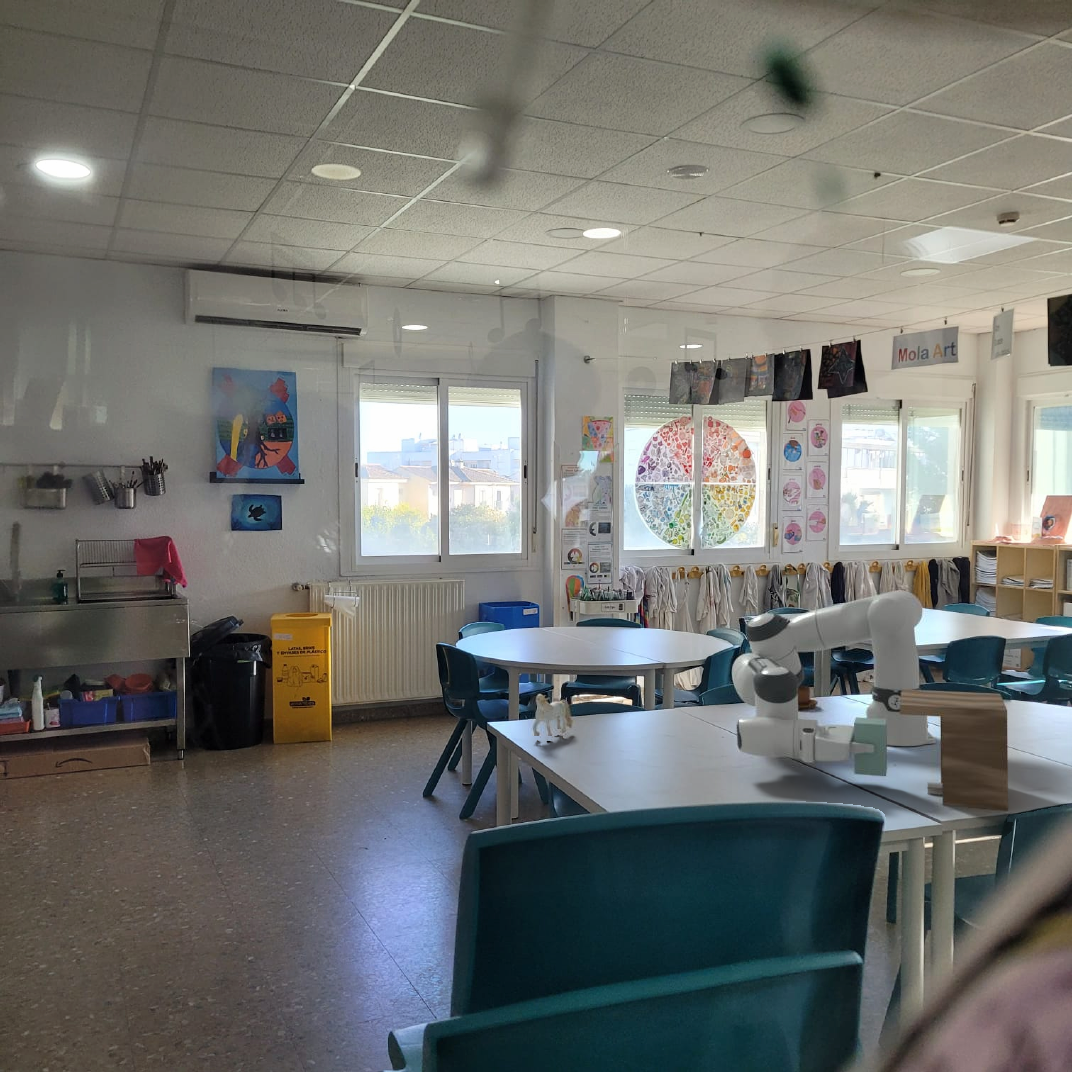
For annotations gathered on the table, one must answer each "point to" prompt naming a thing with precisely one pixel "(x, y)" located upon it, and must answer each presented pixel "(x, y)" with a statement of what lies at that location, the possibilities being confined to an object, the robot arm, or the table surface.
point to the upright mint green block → (876, 734)
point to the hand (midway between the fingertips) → (875, 744)
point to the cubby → (967, 745)
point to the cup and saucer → (805, 698)
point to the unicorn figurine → (551, 714)
